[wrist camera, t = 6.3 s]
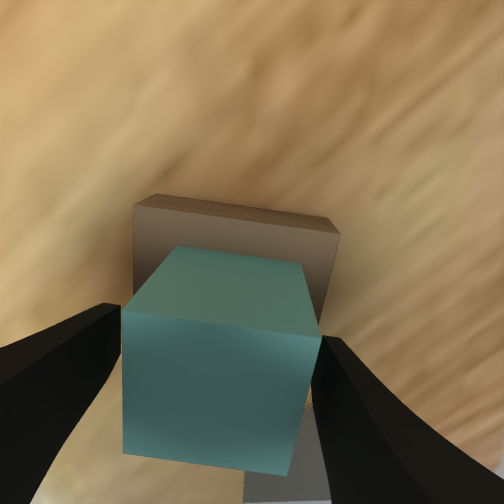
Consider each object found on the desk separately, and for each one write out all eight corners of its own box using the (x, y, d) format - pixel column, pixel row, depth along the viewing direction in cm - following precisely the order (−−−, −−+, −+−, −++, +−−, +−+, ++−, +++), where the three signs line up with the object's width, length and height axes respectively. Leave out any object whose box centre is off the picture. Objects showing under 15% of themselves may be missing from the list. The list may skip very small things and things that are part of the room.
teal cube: (279, 364, 14) (286, 476, 9) (171, 348, 14) (122, 453, 9) (300, 263, 12) (321, 338, 8) (176, 245, 12) (121, 309, 8)
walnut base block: (295, 353, 18) (301, 395, 15) (154, 334, 17) (133, 371, 15) (326, 215, 15) (340, 234, 12) (158, 192, 15) (133, 204, 12)
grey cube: (335, 466, 20) (357, 568, 15) (257, 469, 20) (255, 569, 16) (333, 406, 18) (357, 499, 13) (248, 411, 19) (242, 503, 14)
